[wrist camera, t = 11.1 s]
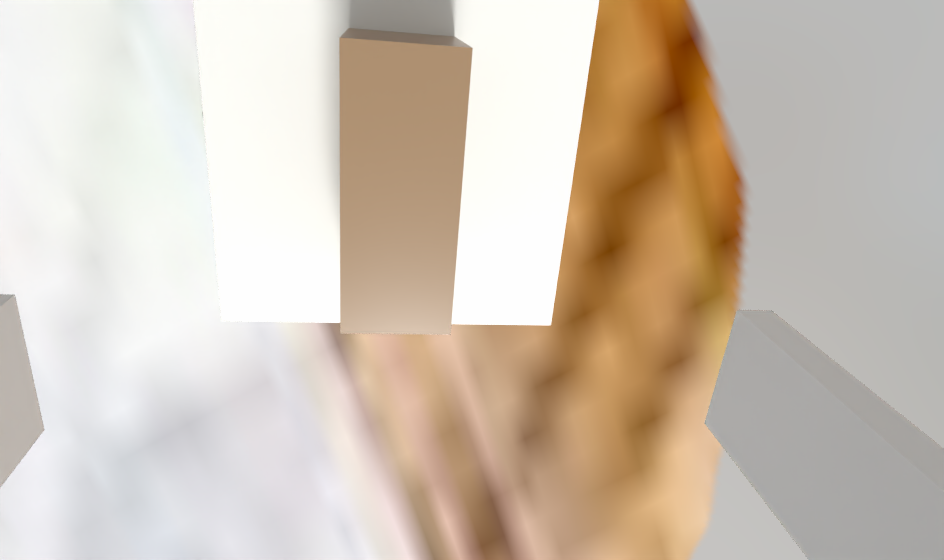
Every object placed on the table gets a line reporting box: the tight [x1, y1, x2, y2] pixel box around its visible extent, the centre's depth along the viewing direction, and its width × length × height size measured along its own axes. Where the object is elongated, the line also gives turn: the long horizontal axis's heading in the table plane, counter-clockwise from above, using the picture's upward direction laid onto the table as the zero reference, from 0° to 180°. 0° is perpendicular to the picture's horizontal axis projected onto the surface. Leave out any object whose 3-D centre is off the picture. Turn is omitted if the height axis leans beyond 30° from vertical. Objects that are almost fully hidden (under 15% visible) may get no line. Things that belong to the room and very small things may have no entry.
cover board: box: [193, 0, 599, 335], centre depth 24 cm, size 15×15×6 cm
